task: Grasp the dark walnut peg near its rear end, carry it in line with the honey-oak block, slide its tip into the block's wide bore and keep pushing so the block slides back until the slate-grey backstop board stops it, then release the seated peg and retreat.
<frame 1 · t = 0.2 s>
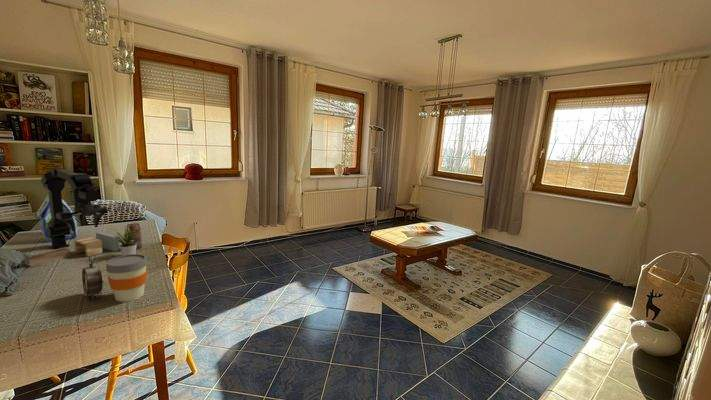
hand: (85, 229, 148), 14 cm above the table, fingers open, 9 cm apart
house plant: (131, 256, 153), on the table
reusable coffee cup: (130, 296, 115), on the table
block: (88, 246, 153), point 4 cm above the table, slide at 0.0 cm
peg: (48, 261, 143), on the table
backstop: (108, 248, 162), on the table
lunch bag: (59, 237, 177), on the table
alarm clock: (94, 296, 113), on the table
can: (135, 248, 164), on the table
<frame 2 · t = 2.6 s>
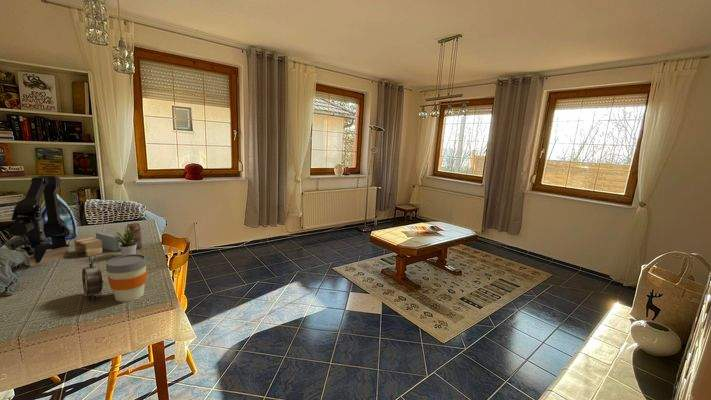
hand: (35, 261, 138), 1 cm above the table, fingers closed on peg, 4 cm apart
peg: (47, 260, 143), on the table, touching gripper
everything else where it was.
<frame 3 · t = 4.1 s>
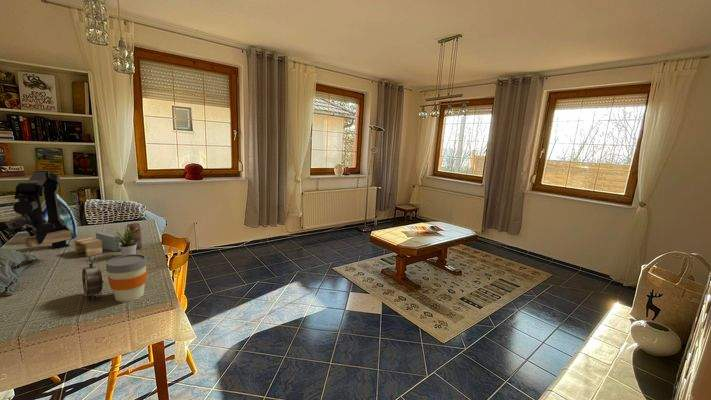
hand: (37, 242, 135), 11 cm above the table, fingers closed on peg, 4 cm apart
peg: (49, 242, 139), point 10 cm above the table, touching gripper
everything else where it was.
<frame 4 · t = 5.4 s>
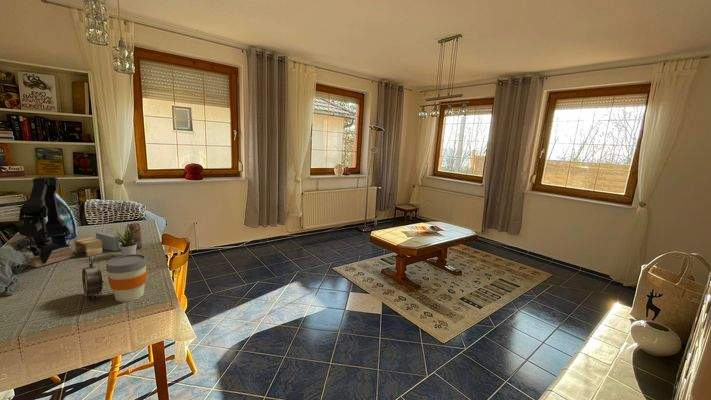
hand: (41, 262, 137), 2 cm above the table, fingers closed on peg, 4 cm apart
peg: (53, 261, 141), point 1 cm above the table, touching gripper
everything else where it was.
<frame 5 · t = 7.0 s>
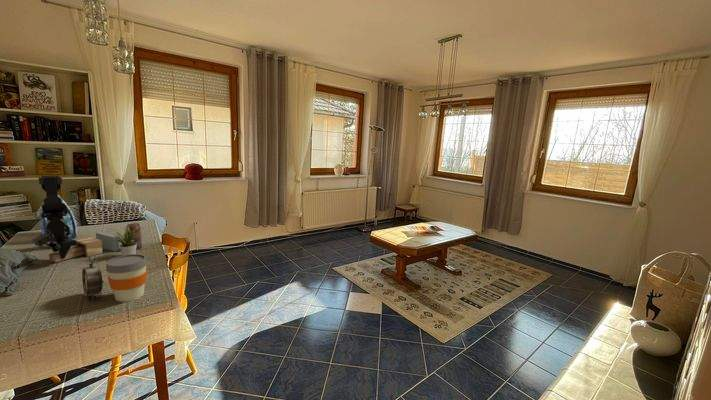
hand: (60, 257, 143), 2 cm above the table, fingers closed on peg, 4 cm apart
peg: (71, 256, 147), on the table, touching gripper
everything else where it was.
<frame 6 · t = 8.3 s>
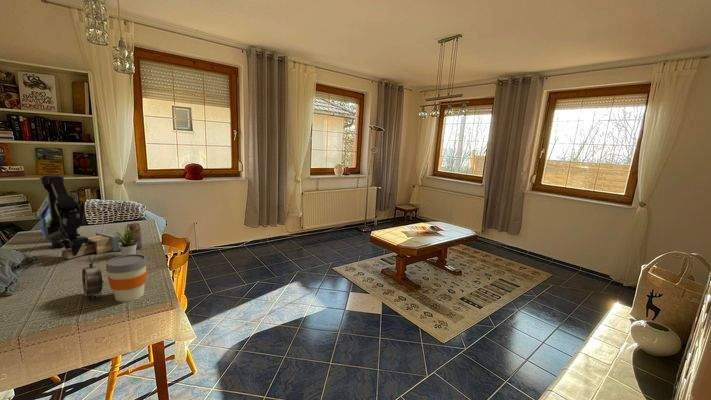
hand: (72, 254, 147), 2 cm above the table, fingers closed on peg, 4 cm apart
block: (98, 244, 157), point 4 cm above the table, slide at 4.4 cm, touching peg
peg: (82, 253, 152), on the table, touching block, gripper
everything else where it was.
when the fingers open (2 cm above the table, at t = 8.4 s): peg stays where it is, on the table.
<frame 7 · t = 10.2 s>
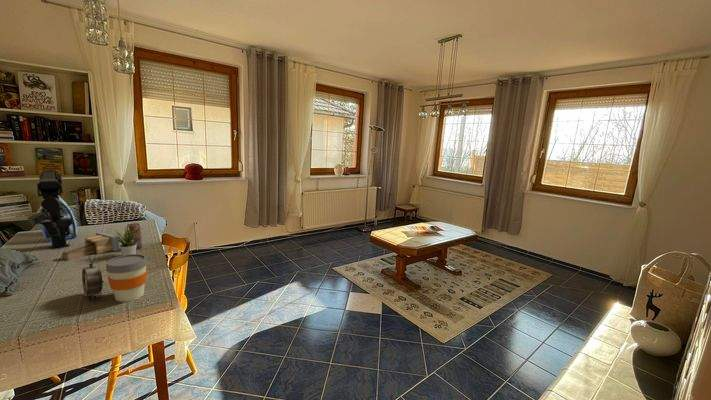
hand: (56, 236, 145), 11 cm above the table, fingers open, 9 cm apart
block: (98, 244, 157), point 4 cm above the table, slide at 4.5 cm
peg: (82, 255, 152), on the table
everything else where it was.
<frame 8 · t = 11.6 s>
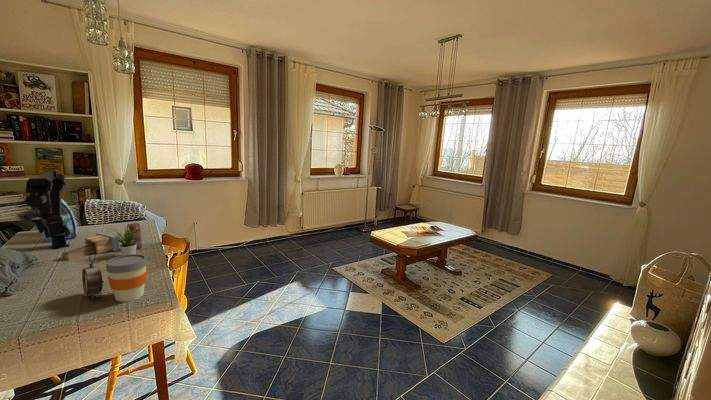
hand: (46, 234, 145), 12 cm above the table, fingers open, 9 cm apart
nothing on the table moved.
at the end: block slide at 4.5 cm; peg 0.6 cm from the target spot on the table beside the block, on the table; the gripper is holding nothing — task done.
